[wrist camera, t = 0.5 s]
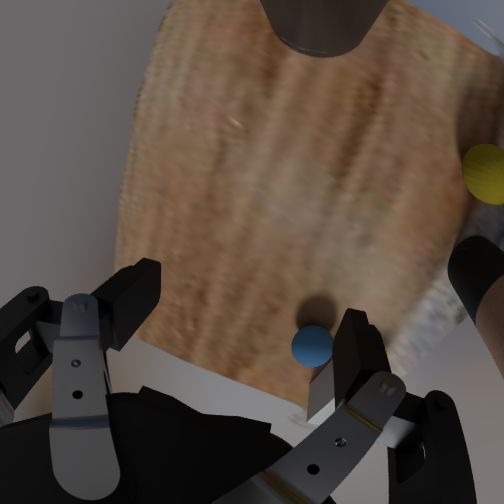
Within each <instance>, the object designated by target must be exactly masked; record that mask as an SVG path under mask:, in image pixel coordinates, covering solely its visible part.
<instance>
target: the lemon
mask: <svg viewBox="0 0 504 504" xmlns="http://www.w3.org/2000/svg"><path fill="white" fill-rule="evenodd" d="M462 177H463V180H464V182H465V185H466V186H467V188H468V189H469V191H470V192H471V193H472V194H473V195H474V196H475V197H476V198H477V199H479V200H481V201H483V202H485V203H487V204H493V205H502V204H504V150H503V149H501V148H499V147H497V146H495V145H492V144H478V145H475V146H473V147H472V148H470V149H469V150H468V151H467V153H466V154H465V156H464V158H463V161H462Z"/></svg>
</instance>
